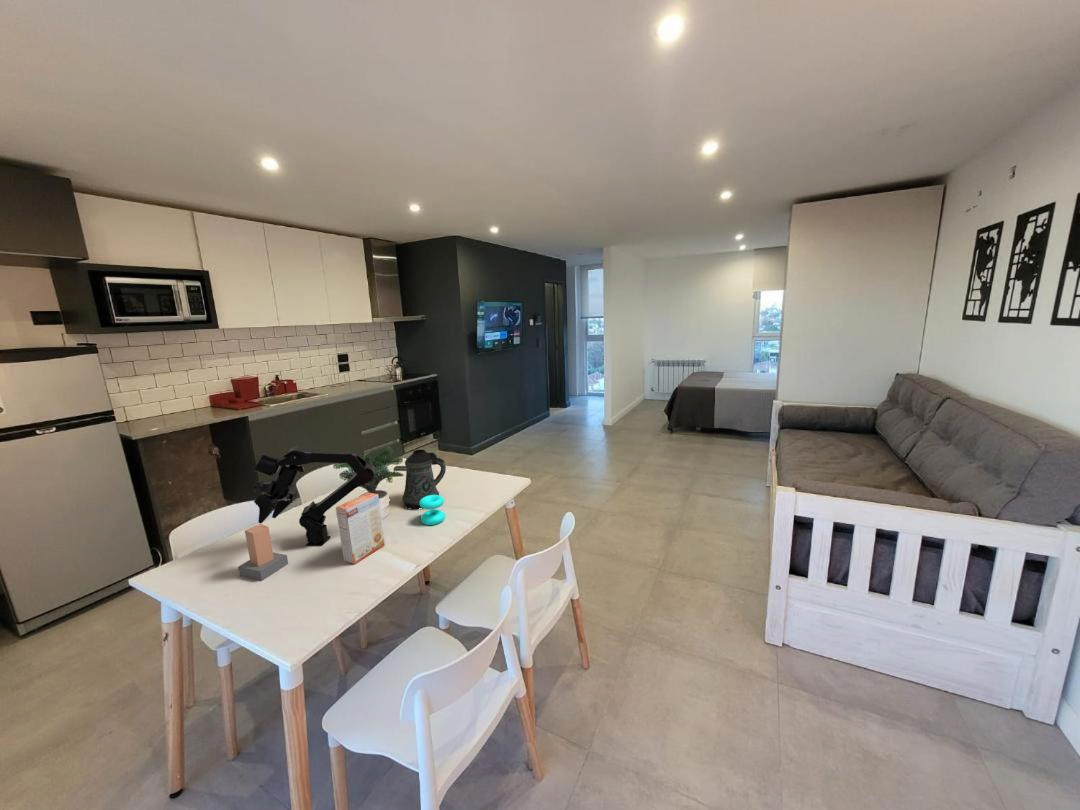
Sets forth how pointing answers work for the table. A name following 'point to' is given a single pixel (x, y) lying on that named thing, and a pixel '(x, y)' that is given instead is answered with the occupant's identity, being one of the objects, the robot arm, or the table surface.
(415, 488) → the beer stein
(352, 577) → the table surface
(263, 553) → the terracotta block
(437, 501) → the donuts
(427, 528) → the table surface
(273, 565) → the charcoal box
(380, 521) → the cracker box
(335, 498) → the robot arm
